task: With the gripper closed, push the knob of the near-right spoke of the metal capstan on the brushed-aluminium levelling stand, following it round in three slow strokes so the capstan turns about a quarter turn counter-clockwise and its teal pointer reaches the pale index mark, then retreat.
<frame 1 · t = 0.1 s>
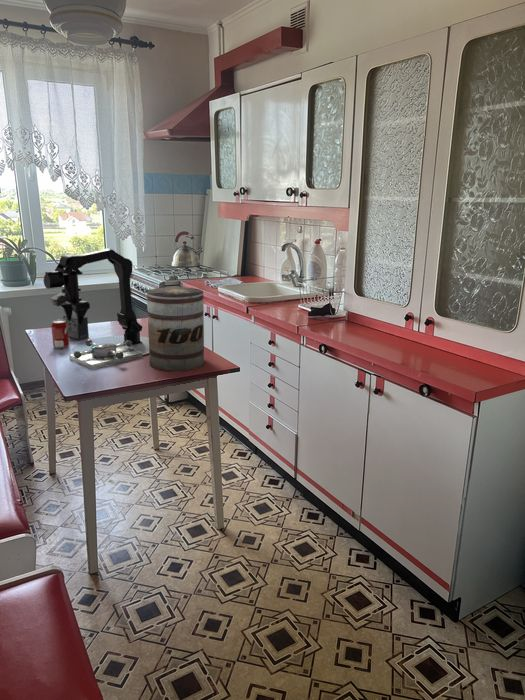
hand: (74, 322, 223), 15 cm above the table, fingers open, 9 cm apart
capstan: (103, 349, 222), point 4 cm above the table, hinge at 0.0°
barrel: (177, 363, 221), on the table
small box: (77, 337, 254), on the table
stand: (106, 358, 224), on the table
soda can: (61, 347, 238), on the table
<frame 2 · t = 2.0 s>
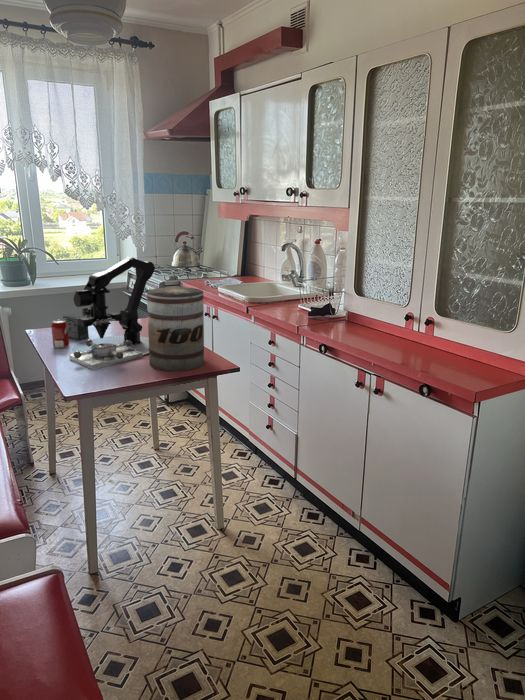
hand: (101, 338, 234), 5 cm above the table, fingers closed
nothing on the table moved.
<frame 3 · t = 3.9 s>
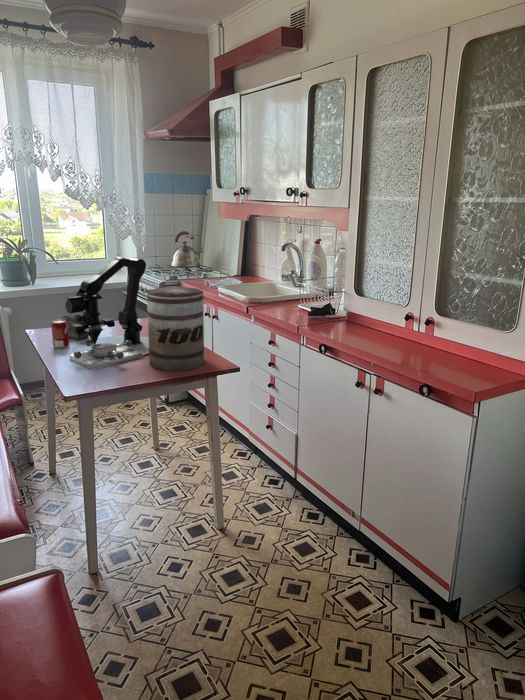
hand: (94, 344, 232), 3 cm above the table, fingers closed
capstan: (103, 349, 222), point 4 cm above the table, hinge at 0.6°, touching gripper
everything else where it was.
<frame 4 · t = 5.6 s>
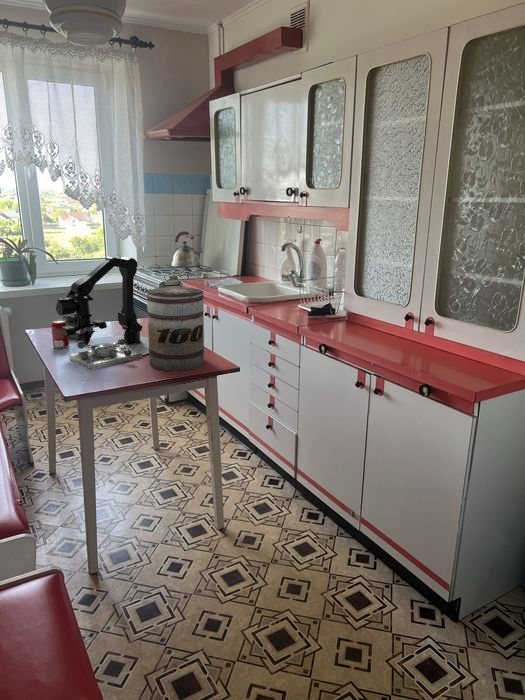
hand: (86, 346, 229), 3 cm above the table, fingers closed
capstan: (103, 349, 222), point 4 cm above the table, hinge at 21.0°, touching gripper
everything else where it was.
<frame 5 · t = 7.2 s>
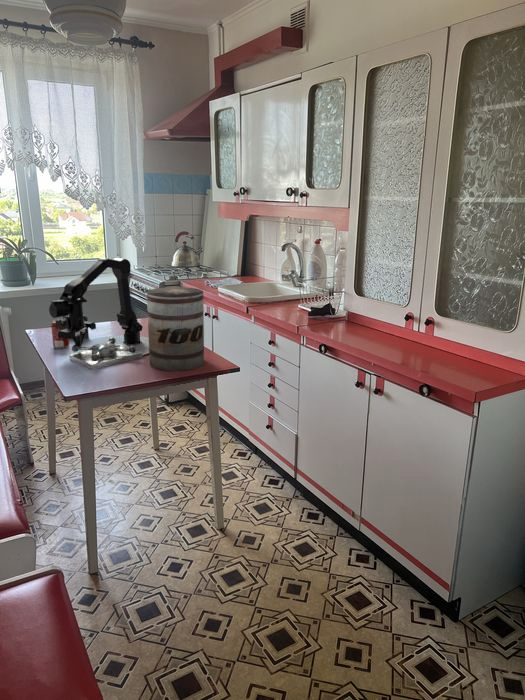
hand: (78, 349, 225), 3 cm above the table, fingers closed
capstan: (103, 349, 222), point 4 cm above the table, hinge at 42.4°, touching gripper
everything else where it was.
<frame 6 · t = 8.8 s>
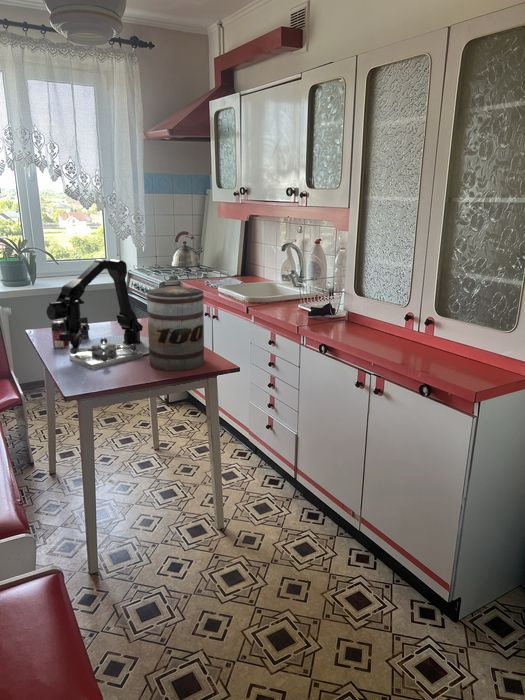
hand: (75, 351, 222), 3 cm above the table, fingers closed
capstan: (103, 349, 222), point 4 cm above the table, hinge at 59.1°, touching gripper
everything else where it was.
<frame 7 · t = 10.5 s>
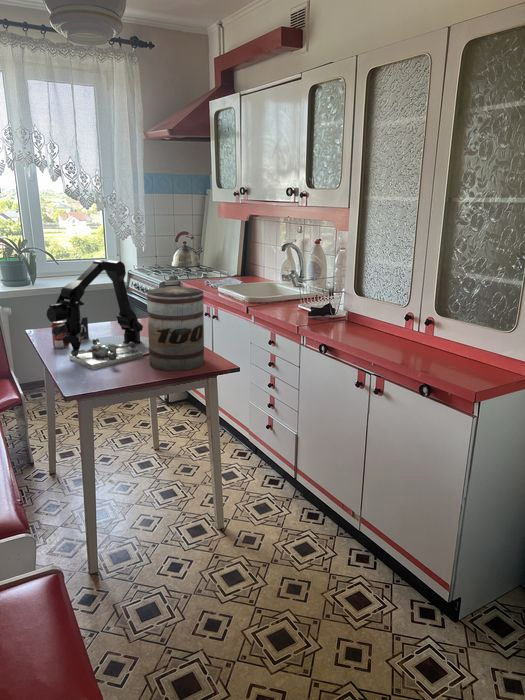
hand: (76, 353, 220), 3 cm above the table, fingers closed
capstan: (103, 349, 222), point 4 cm above the table, hinge at 75.4°
everything else where it was.
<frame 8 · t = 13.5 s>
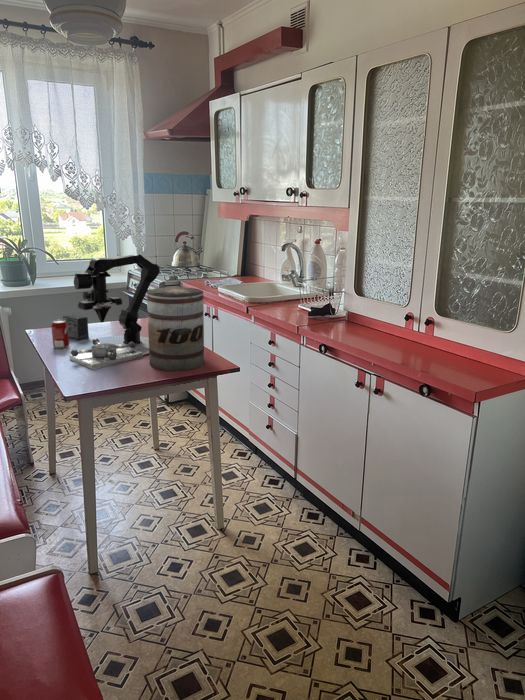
hand: (101, 322, 235), 12 cm above the table, fingers closed
nothing on the table moved.
at the end: capstan at +75° (first picture: +0°) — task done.
